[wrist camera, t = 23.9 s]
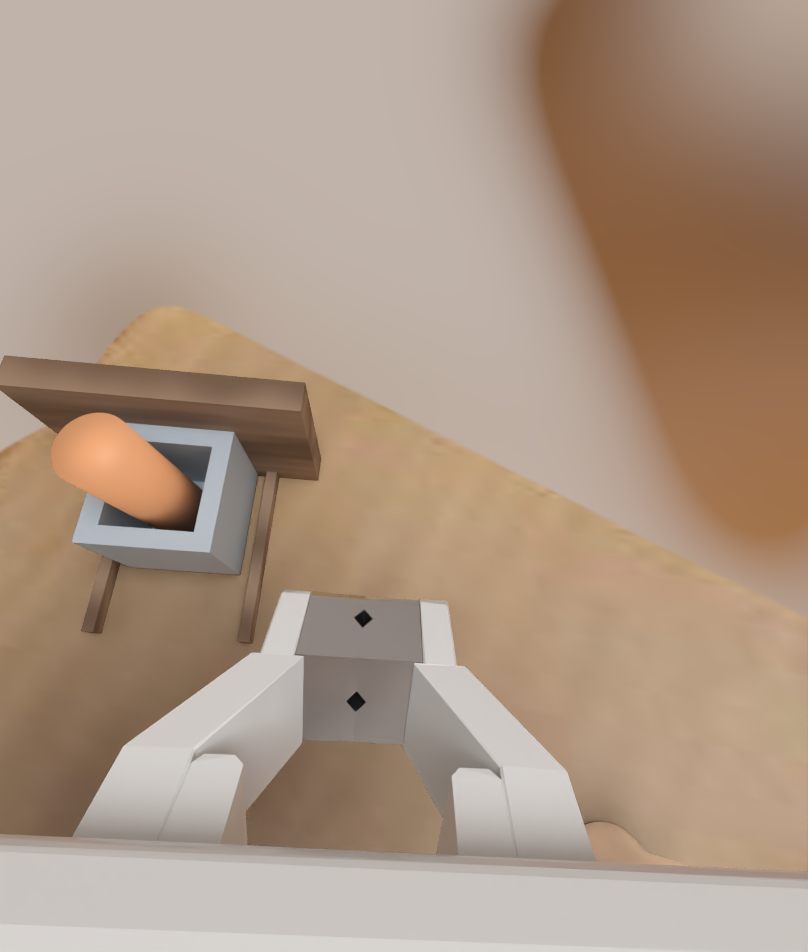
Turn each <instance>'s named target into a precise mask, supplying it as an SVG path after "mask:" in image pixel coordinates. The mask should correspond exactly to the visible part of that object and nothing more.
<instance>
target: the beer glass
mask: <svg viewBox="0 0 808 952" xmlns="http://www.w3.org/2000/svg"><path fill="white" fill-rule="evenodd" d="M584 826H585V829H586V832H587V835H588V838H589V841H590V844H591V847H592V850H593V853H594V856H595V859H596V862H615V863H636V864H657V865H678V866H690V865H687V864H685V863H682V862H679V861H675V860H672V859H668V858H665V857H661V856H657V855H653V854H650V853H647V852H646V851H645V850H644V849H643V848H642V847H641V845H640V844H639V843H638V842H637V841H636V840H635V839H634V838H633V837H632V836H631V835H630V834H629V833H628V832H626V831H625V830H624V829H622V828H621V827H619V826H617V825H614V824H612V823H608V822H591V823H588V824H585V825H584Z"/></svg>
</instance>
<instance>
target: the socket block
mask: <svg viewBox="0 0 808 952" xmlns="http://www.w3.org/2000/svg"><path fill="white" fill-rule="evenodd" d="M126 424H127V425H128V426H129V427H131V428H132V429H133V430H134V431H135V432H136V433H137V434H139V435H140V436H141V437H142V438H143V439H144V440H146V441H147V442H148V443H149V444H150V445H151V446H152V447H154V448H155V449H156V450H157V451H158V452H159V453H161V454H162V455H163V456H164V457H165V458H166V459H168V460H169V461H170V462H171V463H172V464H173V465H174V466H176V467H177V468H178V469H179V470H180V471H181V472H183V473H184V474H185V475H186V476H187V477H188V478H189V479H191V480H192V481H193V482H194V483H195V484H196V485H198V486H199V487H200V488H201V489H202V490H203V492H202V497H201V501H200V506H199V510H198V515H197V520H196V524H195V529H194V532H187V531H173V530H160V529H156V528H154V527H152V526H150V525H148V524H146V523H144V522H142V521H140V520H138V519H137V518H135V517H133V516H131V515H129V514H127V513H125V512H123V511H121V510H119V509H118V508H116V507H114V506H112V505H110V504H108V503H106V502H104V501H102V500H100V499H98V498H97V497H95V496H93V495H91V494H89V493H87V494H86V498H85V501H84V504H83V507H82V511H81V514H80V517H79V520H78V524H77V527H76V530H75V533H74V537H73V540H72V543H74V544H77V545H79V546H81V547H84V548H86V549H88V550H91V551H93V552H95V553H98V554H100V555H103V556H105V557H107V558H110V559H112V560H114V561H117V562H119V563H121V564H124V565H126V566H128V567H135V568H149V569H163V570H177V571H191V572H205V573H219V574H233V575H240V573H241V567H242V562H243V556H244V550H245V545H246V539H247V534H248V528H249V522H250V517H251V511H252V505H253V500H254V494H255V489H256V483H257V477H258V474H257V472H256V470H255V469H254V467H253V465H252V463H251V461H250V460H249V458H248V456H247V454H246V452H245V451H244V449H243V447H242V445H241V443H240V442H239V440H238V438H237V436H236V434H235V433H234V432H228V431H217V430H205V429H193V428H181V427H170V426H158V425H146V424H134V423H126Z"/></svg>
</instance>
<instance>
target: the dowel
mask: <svg viewBox="0 0 808 952" xmlns="http://www.w3.org/2000/svg"><path fill="white" fill-rule="evenodd" d="M51 464H52V466H53V469H54V471H55V472H56V474H57V475H58V476H59V477H60V478H61V479H63V480H64V481H66V482H68V483H70V484H72V485H74V486H76V487H78V488H79V489H81V490H83V491H85V492H87V493H89V494H91V495H93V496H95V497H97V498H98V499H100V500H102V501H104V502H106V503H108V504H110V505H112V506H114V507H116V508H118V509H119V510H121V511H123V512H125V513H127V514H129V515H131V516H133V517H135V518H137V519H138V520H140V521H142V522H144V523H146V524H148V525H150V526H152V527H154V528H156V529H160V530H173V531H187V532H194V529H195V524H196V520H197V515H198V510H199V506H200V501H201V497H202V492H203V490H202V489H201V488H200V487H199V486H198V485H196V484H195V483H194V482H193V481H192V480H191V479H189V478H188V477H187V476H186V475H185V474H184V473H183V472H181V471H180V470H179V469H178V468H177V467H176V466H174V465H173V464H172V463H171V462H170V461H169V460H168V459H166V458H165V457H164V456H163V455H162V454H161V453H159V452H158V451H157V450H156V449H155V448H154V447H152V446H151V445H150V444H149V443H148V442H147V441H146V440H144V439H143V438H142V437H141V436H140V435H139V434H137V433H136V432H135V431H134V430H133V429H132V428H131V427H129V426H128V425H127V424H126V423H125V422H124V421H122V420H121V419H120V418H118V417H116V416H114V415H112V414H108V413H90V414H86V415H83V416H80V417H78V418H76V419H74V420H73V421H71V422H70V423H68V424H67V425H66V426H65V427H64V428H63V429H62V430H61V431H60V432H59V433H58V435H57V436H56V438H55V440H54V442H53V445H52V448H51Z"/></svg>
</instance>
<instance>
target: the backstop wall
mask: <svg viewBox="0 0 808 952" xmlns="http://www.w3.org/2000/svg"><path fill="white" fill-rule="evenodd" d="M0 390H1V391H2V392H4V393H5V394H6V395H7V396H8V397H10V398H11V399H12V400H14V401H15V402H16V403H18V404H19V405H20V406H22V407H23V408H24V409H26V410H27V411H28V412H30V413H31V414H33V415H34V416H35V417H36V418H38V419H39V420H40V421H41V422H43V423H44V424H45V425H47V426H48V427H49V428H51V429H52V430H53V431H55V432H56V433H57V434H58V433H59V432H60V431H61V430H62V429H63V428H64V427H65V426H66V425H67V424H68V423H70V422H71V421H73V420H74V419H76V418H78V417H80V416H83V415H86V414H90V413H108V414H112V415H114V416H116V417H118V418H120V419H121V420H122V421H124V422H125V423H134V424H146V425H158V426H170V427H181V428H193V429H205V430H217V431H228V432H234V433H235V434H236V436H237V438H238V440H239V442H240V443H241V445H242V447H243V449H244V451H245V452H246V454H247V456H248V458H249V460H250V461H251V463H252V465H253V467H254V469H255V470H256V472H257V474H258V476H266V479H265V485H264V490H263V496H262V502H261V508H260V514H259V520H258V525H257V531H256V537H255V543H254V549H253V555H252V560H251V566H250V572H249V578H248V584H247V589H246V595H245V601H244V607H243V613H242V619H241V624H240V630H239V636H238V642H245V643H253V637H254V631H255V625H256V618H257V612H258V606H259V600H260V594H261V587H262V581H263V575H264V569H265V563H266V556H267V550H268V544H269V538H270V531H271V525H272V519H273V513H274V507H275V500H276V494H277V488H278V482H279V477H281V478H293V479H305V480H318V478H319V470H320V462H321V456H320V451H319V446H318V442H317V437H316V432H315V427H314V423H313V418H312V413H311V408H310V403H309V399H308V394H307V389H306V384H305V383H302V382H291V381H280V380H269V379H258V378H247V377H236V376H225V375H214V374H203V373H191V372H180V371H169V370H158V369H147V368H136V367H125V366H114V365H103V364H92V363H81V362H69V361H58V360H48V359H36V358H26V357H14V356H4V358H3V360H2V363H1V365H0ZM119 565H120V563H119V562H117V561H114V560H112V559H110V558H107V557H105V556H103V555H102V559H101V562H100V566H99V569H98V573H97V576H96V580H95V583H94V587H93V591H92V594H91V598H90V601H89V605H88V608H87V612H86V615H85V619H84V622H83V626H82V630H81V631H83V632H92V633H101V632H102V628H103V625H104V621H105V617H106V613H107V610H108V606H109V602H110V598H111V595H112V591H113V587H114V584H115V580H116V576H117V572H118V569H119Z"/></svg>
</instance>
